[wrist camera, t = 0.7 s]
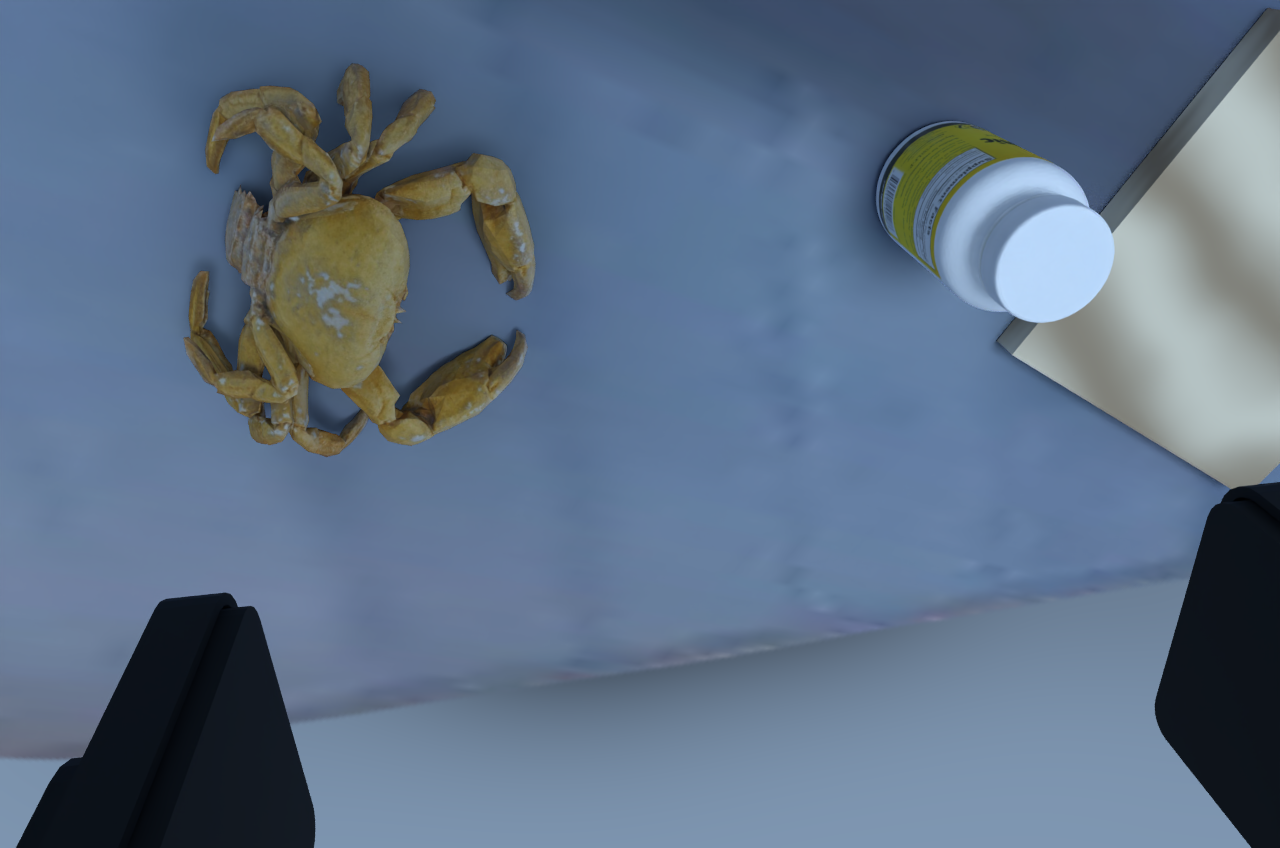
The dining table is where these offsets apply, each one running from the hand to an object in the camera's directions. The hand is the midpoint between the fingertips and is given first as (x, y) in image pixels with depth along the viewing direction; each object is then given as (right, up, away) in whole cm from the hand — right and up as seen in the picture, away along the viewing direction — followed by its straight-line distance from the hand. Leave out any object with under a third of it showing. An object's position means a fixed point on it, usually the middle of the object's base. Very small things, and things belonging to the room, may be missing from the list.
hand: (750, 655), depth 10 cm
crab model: (-11, +9, +29) cm, 33 cm away
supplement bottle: (+11, +12, +30) cm, 34 cm away
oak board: (+26, +9, +34) cm, 43 cm away
